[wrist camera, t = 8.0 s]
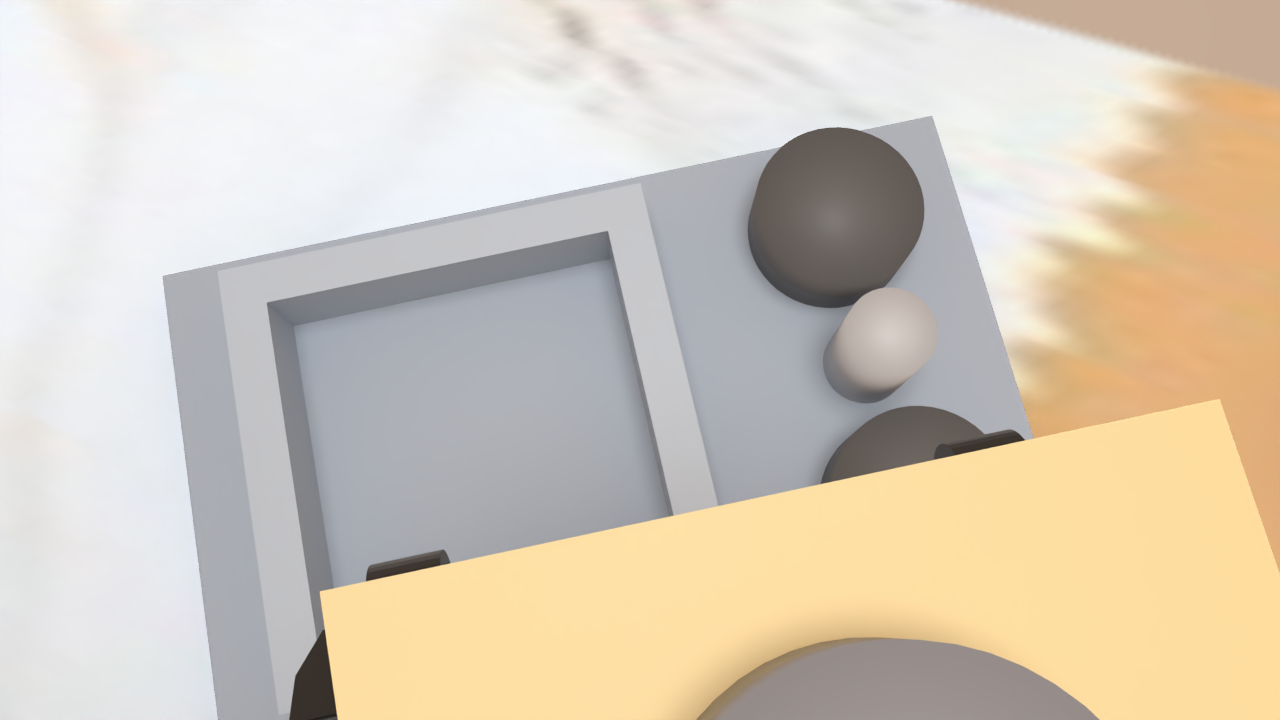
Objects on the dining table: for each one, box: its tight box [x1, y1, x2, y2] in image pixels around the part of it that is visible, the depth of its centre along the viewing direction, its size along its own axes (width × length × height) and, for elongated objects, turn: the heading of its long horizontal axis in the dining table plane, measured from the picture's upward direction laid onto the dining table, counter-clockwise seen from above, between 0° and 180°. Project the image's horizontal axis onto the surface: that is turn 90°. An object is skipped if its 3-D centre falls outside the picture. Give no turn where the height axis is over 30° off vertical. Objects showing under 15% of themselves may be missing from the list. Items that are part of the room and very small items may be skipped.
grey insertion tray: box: [163, 116, 1034, 720], centre depth 25 cm, size 20×12×4 cm, turn 103°
